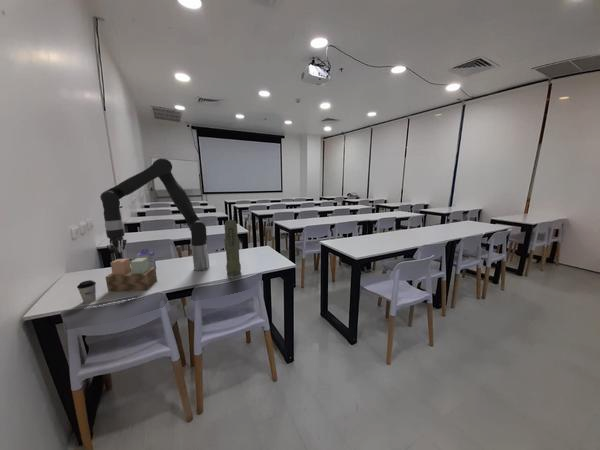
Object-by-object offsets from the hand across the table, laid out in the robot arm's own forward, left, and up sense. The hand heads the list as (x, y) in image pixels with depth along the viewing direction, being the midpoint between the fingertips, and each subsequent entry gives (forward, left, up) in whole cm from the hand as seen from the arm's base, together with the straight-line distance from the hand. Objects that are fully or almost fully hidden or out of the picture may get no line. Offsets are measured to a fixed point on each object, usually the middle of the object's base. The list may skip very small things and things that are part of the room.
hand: (119, 258), depth 126 cm
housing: (-5, 0, -17) cm, 18 cm away
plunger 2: (-10, 0, -11) cm, 15 cm away
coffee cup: (+8, +14, -17) cm, 24 cm away
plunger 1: (0, 0, -11) cm, 11 cm away
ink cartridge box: (0, -24, -17) cm, 30 cm away
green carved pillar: (-59, -12, -17) cm, 63 cm away
